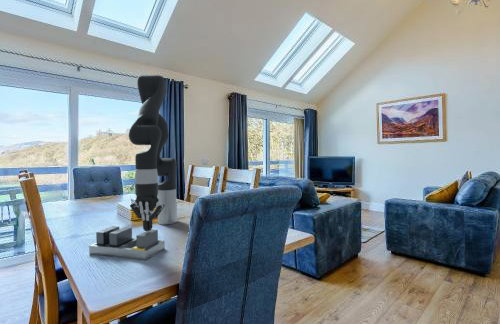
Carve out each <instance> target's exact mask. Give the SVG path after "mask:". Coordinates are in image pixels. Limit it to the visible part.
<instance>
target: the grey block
mask: <svg viewBox="0 0 500 324" xmlns="http://www.w3.org/2000/svg"><path fill="white" fill-rule="evenodd" d="M135 238H136V241H137V247H138V248H145V250H147V249H148V248H150V247H152V246H154V245H156V244H157V243H158V240H159V229H155V228H154V229H153V228H152V229H151V230H150V231H143V232H142V233H139V234H137V235H136V237H135Z"/></svg>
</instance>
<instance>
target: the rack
mask: <svg viewBox="0 0 500 324" xmlns="http://www.w3.org/2000/svg"><path fill="white" fill-rule="evenodd" d="M95 235H96V236H95V237H96V239H95V240H96V242H95V243H92V244H89V246H88V248H89V255H95V256H103V257H112V258H122V259H130V260H131V259H132V260H140V261H141V260H142V261H147V260H149V259H151V258H152V257H154V256H156V255H157V254H159V253H160V252H162V251H164V250H165V249H166V248H165V247H166V246H165V244H166V242H165V240H162V239H161V240H160V239H158V243H157V244H156V245H154V246H152V247H150V248H148V249H147V250H145V248H138V247H137V241H136V237H133V228H132V227H129V226H125V227H122V228H120V226H115V225H112V226H109V227H107V228H104V229H100V230H98V231H96V232H95Z"/></svg>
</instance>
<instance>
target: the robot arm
mask: <svg viewBox="0 0 500 324" xmlns="http://www.w3.org/2000/svg"><path fill="white" fill-rule="evenodd" d="M136 81H137V83H136V85H137V89H138V90H137V91H138V93H139V97H140V101H141V106H140V108H139V112H138V116H137V118H136V120H135V121H134V122H133V124H132V125H131V127H130V128H129V131H128V138H129V141H130V142H131V143H132V144H133V145H135V146H150V147H149V148H148V149H147V150H145V151H140V152H139V151H138V152H137V153H136V154H135V157H134V158H135V159H134V160H135V173H134V182H135V183H134V186H135V192H134V193H135V196H136V197H135V202H133V203H131V204H129V207H130V209H131V210H132V212H133V213H134V214H135V216H136V217H137V219H141V220H142V228H143V232H146V231H150V230H151V229H153V220H154V219H157V223H158V224H159V225H172V224H173V225H174V224H176V223H177V222H178V203H177V160H176V158H174V157H163V158H162V157H161V153H162V150H163V148H164V147H165V145H166V143H167V141H168V139H169V126H168V123H167V120H166V119H165V117H163V116H162V115H161V114H160V111H161V107H162V104H163V102H164V98H165V96H166V92H167V86H166V80H165V78H164V77H163V76H162V75H159V74H158V75H157V74H152V75H151V74H150V75H139V76H138V77H137V79H136ZM159 177H168V179H166V180H165V181H162V182H160V183H159Z"/></svg>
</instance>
